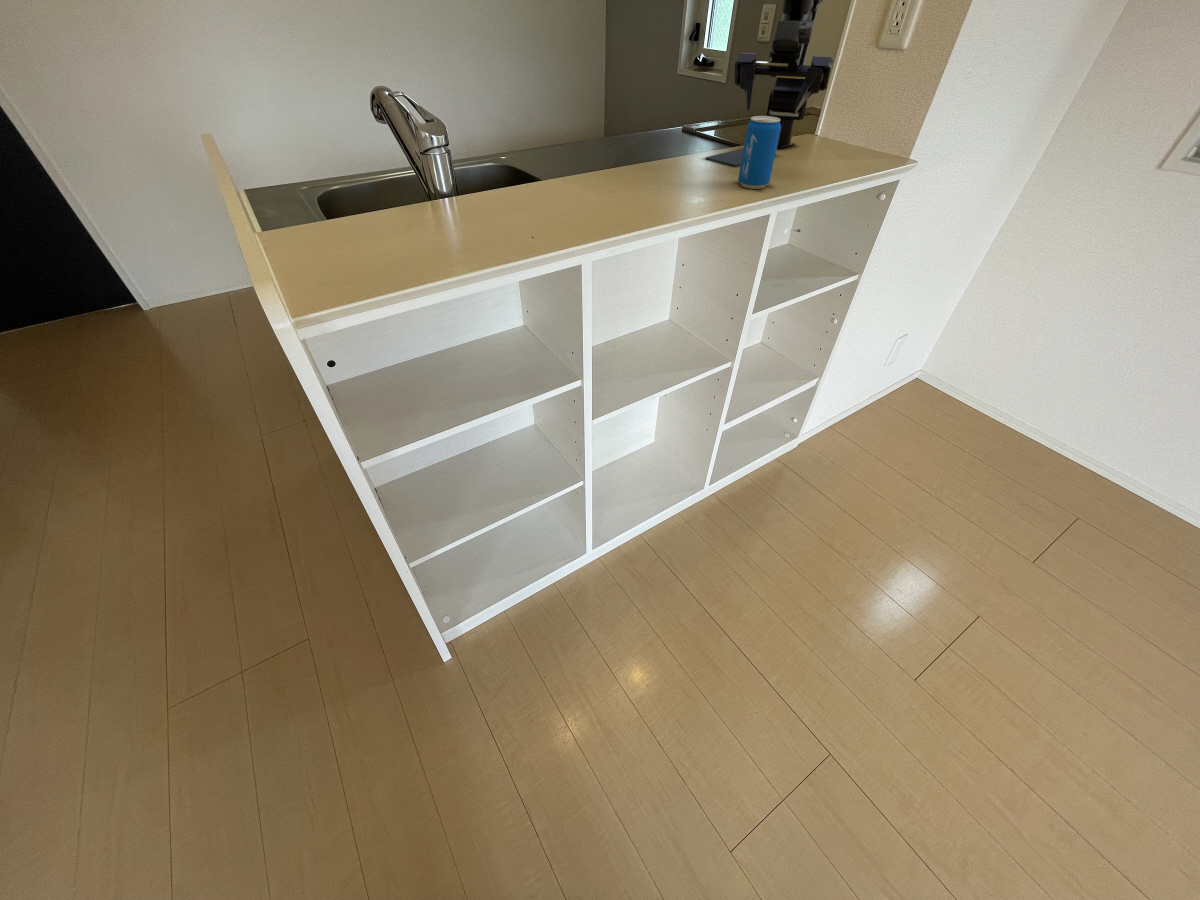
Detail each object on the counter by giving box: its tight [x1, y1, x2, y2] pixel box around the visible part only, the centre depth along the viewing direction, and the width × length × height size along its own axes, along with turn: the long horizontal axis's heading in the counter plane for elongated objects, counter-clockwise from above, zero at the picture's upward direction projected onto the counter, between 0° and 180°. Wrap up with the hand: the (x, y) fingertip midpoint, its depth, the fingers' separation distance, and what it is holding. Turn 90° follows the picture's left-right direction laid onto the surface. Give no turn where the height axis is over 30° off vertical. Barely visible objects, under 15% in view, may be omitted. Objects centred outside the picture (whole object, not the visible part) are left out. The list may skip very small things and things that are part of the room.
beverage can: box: [737, 115, 781, 190], centre depth 103 cm, size 6×6×12 cm
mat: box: [705, 147, 777, 168], centre depth 124 cm, size 16×9×1 cm, turn 130°
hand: (770, 110), depth 103 cm, fingers open, 9 cm apart
